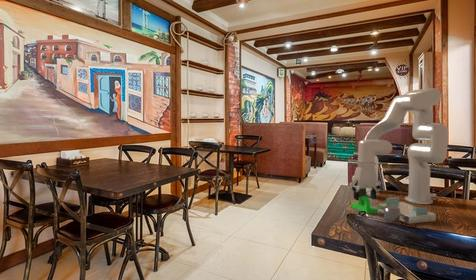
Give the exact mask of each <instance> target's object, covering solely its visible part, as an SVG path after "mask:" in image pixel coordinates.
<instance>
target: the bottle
mask: <svg viewBox="0 0 476 280" xmlns="http://www.w3.org/2000/svg"><path fill="white" fill-rule="evenodd" d="M375 163H376V165H375V167H374V168H375V169H376V178H377V180H378V181H379V158H378V156H377V154H376V155H375ZM376 185H377V183H376ZM371 190H372V189H371V188H366V191H367V193H371ZM377 192H378V191H376V193H377Z"/></svg>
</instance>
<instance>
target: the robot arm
mask: <svg viewBox="0 0 476 280" xmlns="http://www.w3.org/2000/svg"><path fill="white" fill-rule="evenodd" d="M441 98H442V95H441V92H440V90H439V89H437V88H436V87H435V88H434V87H431V88H430V87H429V88H423V89H414V90H409V91H407V92H406V93H404V94H401V95H397V96H395V97H394V98H393V99H392V100H391V102H390V105H389V106H388V108H387V110H386V113H385V114H384V116H383V118H382V119H381V120H380V121H379V122H378V123H376V124H375V125H374V126H373V127H371V129H369V131H368V132H367V134H366V135H365V138H364V139H362V140H359V141H358V149H357V151H358V152H357V167H355V170H354V175H353V176H354V181H353V180H352V181H350V182H349V184H348V185H349V187H350V189H351V191H353V200H355V201H359V198H360V196H359V192H358V191H359V190H360V189H361V188H371V189H372V190H371V192H370V198H371V199H373V200H377V192H378V191H379V189H380V186H381V184H382V181H380V180H379V179H378V180H377V178H376V169H375V168H374V167H375V165H376V163H375V155H376V156H377V155H378V156H379V155H380V156H386V155H389V154H391V152H392V150H393V145H392V143H391V142H390V141H388V140H385V139H380V137H382V136H383V135H385V134H386V133H389V132H391V131H393V130H396V129H398V128H400V127H401V125H402V123H403V122H404V119H405V117H406V115H407V113H408V112H411V113H412V115H413V117H412V129H411V130H412V132H411V133H412V135H411V136H412V137H413V139H415V140H417V141H422V143H421V142H416V143H414V142H413V143H412V144H410V145H409V146H408V147H407V158H408V170H409V171H408V194H407V196H405V197H404V200H405V201H407V202H409V203H413V204H417V205H432V204H433V203H434V202H433V201H434V200H433V199H432V198H436V197H437V193H431V191H430V190H431V189H430V188H431V167H430V164H429V163H433V164H441V163H443V162H444V161H445V160H446V158H447V155H448V146H449V145H448V142H449V129H448V127H447V125H445V124H443V123H440V122H433V117H434V116H433V115H434V114H433V111H432V108H431V107H433V106H436V105H437V104H438V103H440V101H441ZM423 141H424V142H425V143H424V142H423ZM426 142H431V143H426ZM376 183H377V185H376ZM376 191H377V192H376Z"/></svg>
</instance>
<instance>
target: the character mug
mask: <svg viewBox="0 0 476 280" xmlns="http://www.w3.org/2000/svg"><path fill="white" fill-rule="evenodd" d="M351 180H352V181H354V175H352V179H351ZM358 192H359V197H361V196H367V195H368V194H367V193H368V192H366V188H361V189H360V190H359V191H358Z"/></svg>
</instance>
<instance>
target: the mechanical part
mask: <svg viewBox="0 0 476 280" xmlns="http://www.w3.org/2000/svg"><path fill="white" fill-rule="evenodd" d="M350 207H351V208H352V209H356V210H357V209H358V211H359V210H360V212H361V211H365V212H366V213H367V214H366V215H370V214H378V208H376V207H373V206H371V200H370V198H369V197H368V196H367V195H366V196H359V200H358V202H351V203H350Z"/></svg>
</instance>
